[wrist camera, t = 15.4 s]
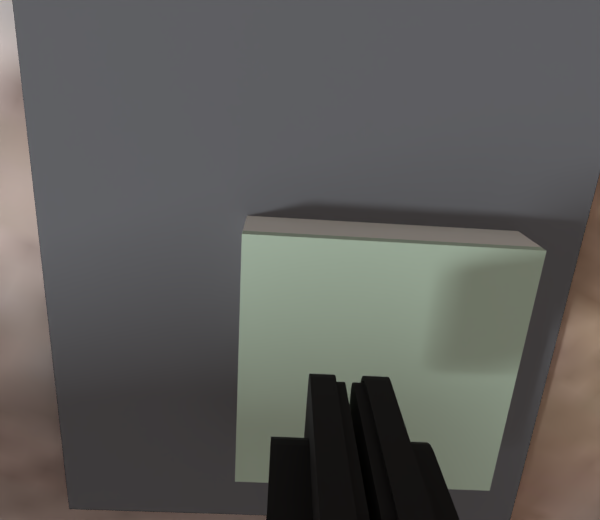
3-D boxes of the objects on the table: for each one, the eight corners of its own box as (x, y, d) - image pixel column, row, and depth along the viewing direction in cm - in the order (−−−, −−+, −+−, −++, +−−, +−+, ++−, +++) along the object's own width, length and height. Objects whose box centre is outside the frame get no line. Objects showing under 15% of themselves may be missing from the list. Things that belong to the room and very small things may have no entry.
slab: (470, 451, 18) (517, 231, 15) (489, 490, 16) (546, 250, 14) (239, 442, 18) (247, 215, 15) (234, 481, 16) (242, 233, 13)
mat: (503, 510, 20) (509, 523, 19) (75, 495, 19) (69, 509, 19) (683, -209, 12) (702, -223, 12) (-6, -273, 12) (-21, -291, 11)
